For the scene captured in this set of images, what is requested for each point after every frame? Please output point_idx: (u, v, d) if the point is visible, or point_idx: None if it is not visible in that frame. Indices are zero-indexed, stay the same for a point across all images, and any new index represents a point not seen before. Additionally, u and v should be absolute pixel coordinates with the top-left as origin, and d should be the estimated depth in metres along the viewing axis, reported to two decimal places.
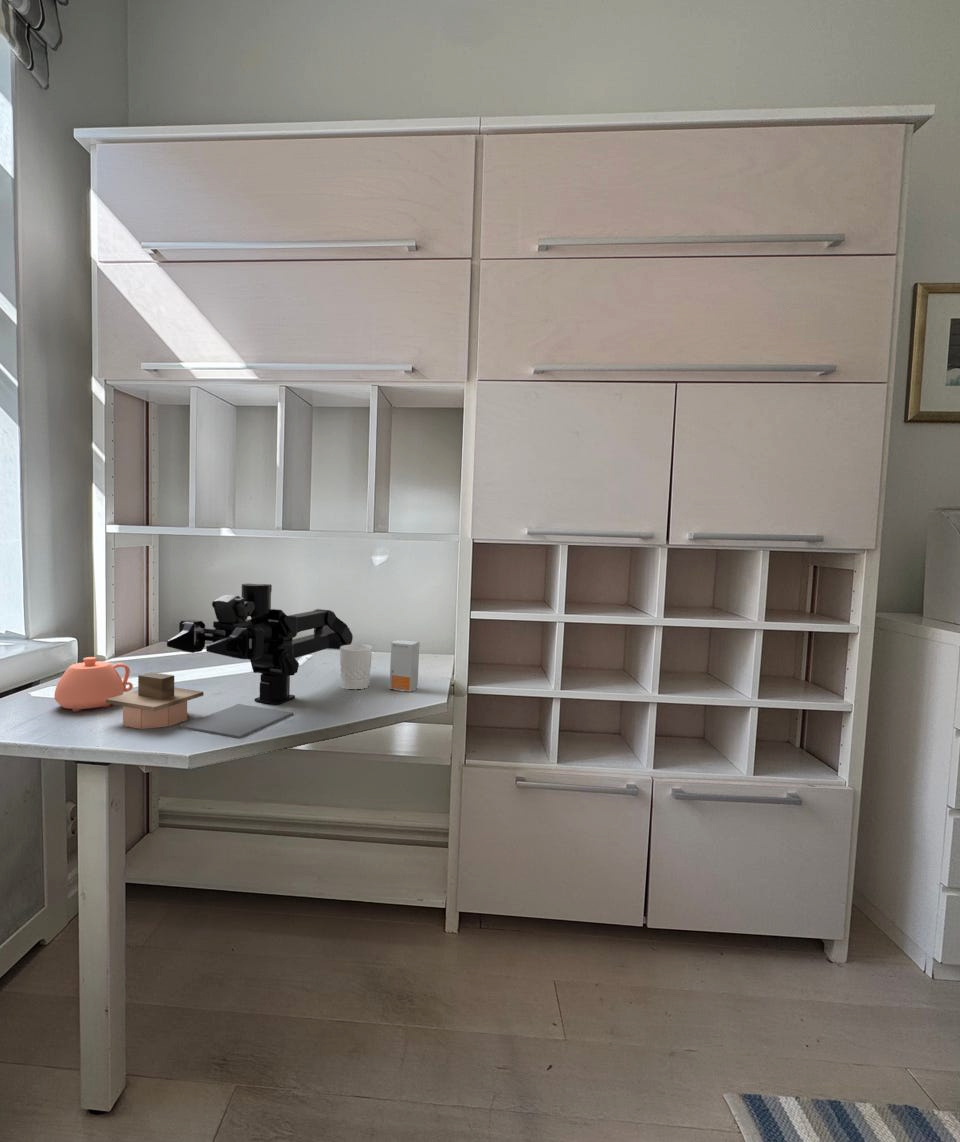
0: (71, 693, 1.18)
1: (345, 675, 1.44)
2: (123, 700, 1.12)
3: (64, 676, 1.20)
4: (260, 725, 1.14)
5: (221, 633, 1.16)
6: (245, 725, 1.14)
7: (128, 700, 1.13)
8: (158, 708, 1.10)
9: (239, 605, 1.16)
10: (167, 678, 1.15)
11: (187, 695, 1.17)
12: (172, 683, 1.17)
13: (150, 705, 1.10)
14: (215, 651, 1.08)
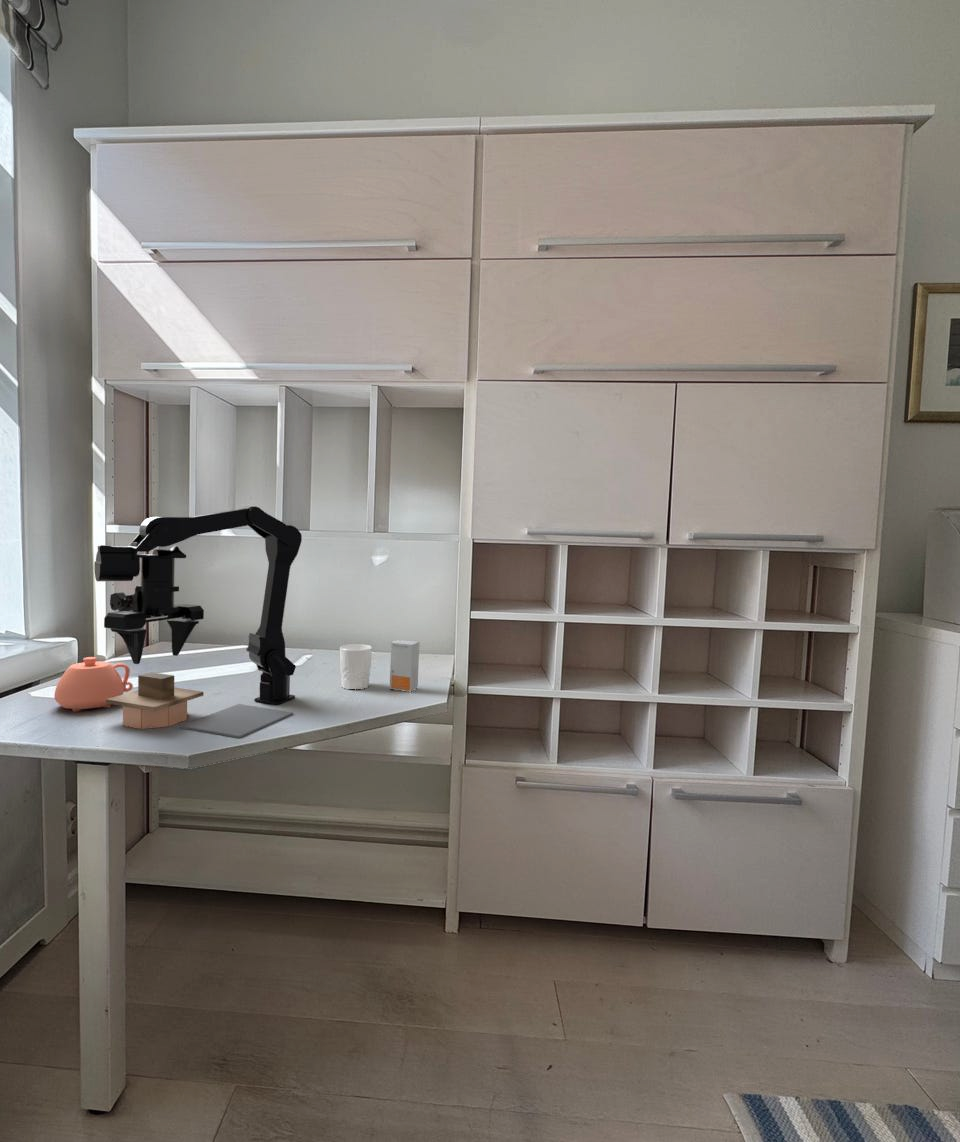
0: (71, 693, 1.18)
1: (345, 675, 1.44)
2: (123, 700, 1.12)
3: (64, 676, 1.20)
4: (260, 725, 1.14)
5: None
6: (245, 725, 1.14)
7: (128, 700, 1.13)
8: (158, 708, 1.10)
9: None
10: (167, 678, 1.15)
11: (187, 695, 1.17)
12: (172, 683, 1.17)
13: (150, 705, 1.10)
14: (136, 657, 1.11)
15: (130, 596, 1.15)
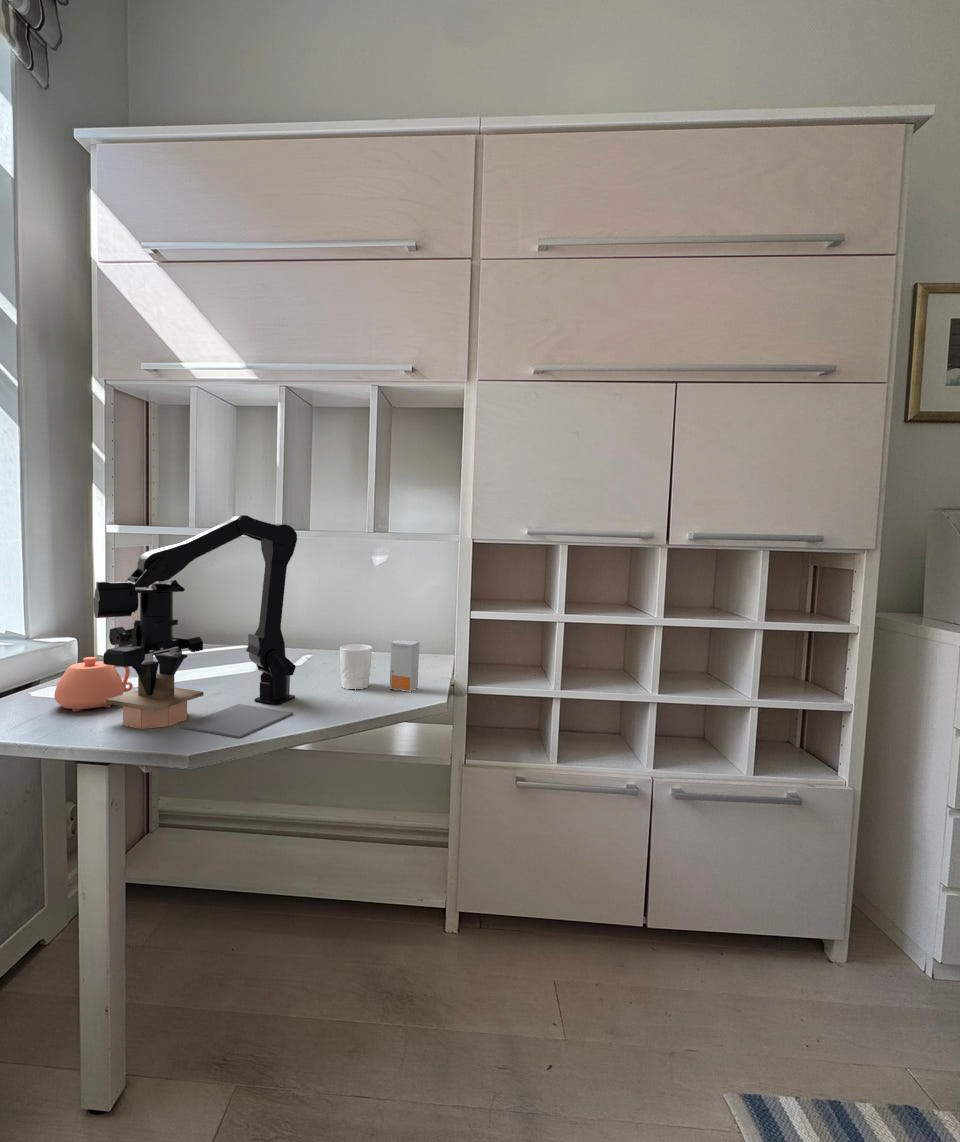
0: (71, 693, 1.18)
1: (345, 675, 1.44)
2: (123, 700, 1.12)
3: (64, 676, 1.20)
4: (260, 725, 1.14)
5: None
6: (245, 725, 1.14)
7: (128, 700, 1.13)
8: (158, 708, 1.10)
9: None
10: (167, 678, 1.15)
11: (187, 695, 1.17)
12: (172, 683, 1.17)
13: (150, 705, 1.10)
14: (149, 688, 1.14)
15: (129, 630, 1.15)
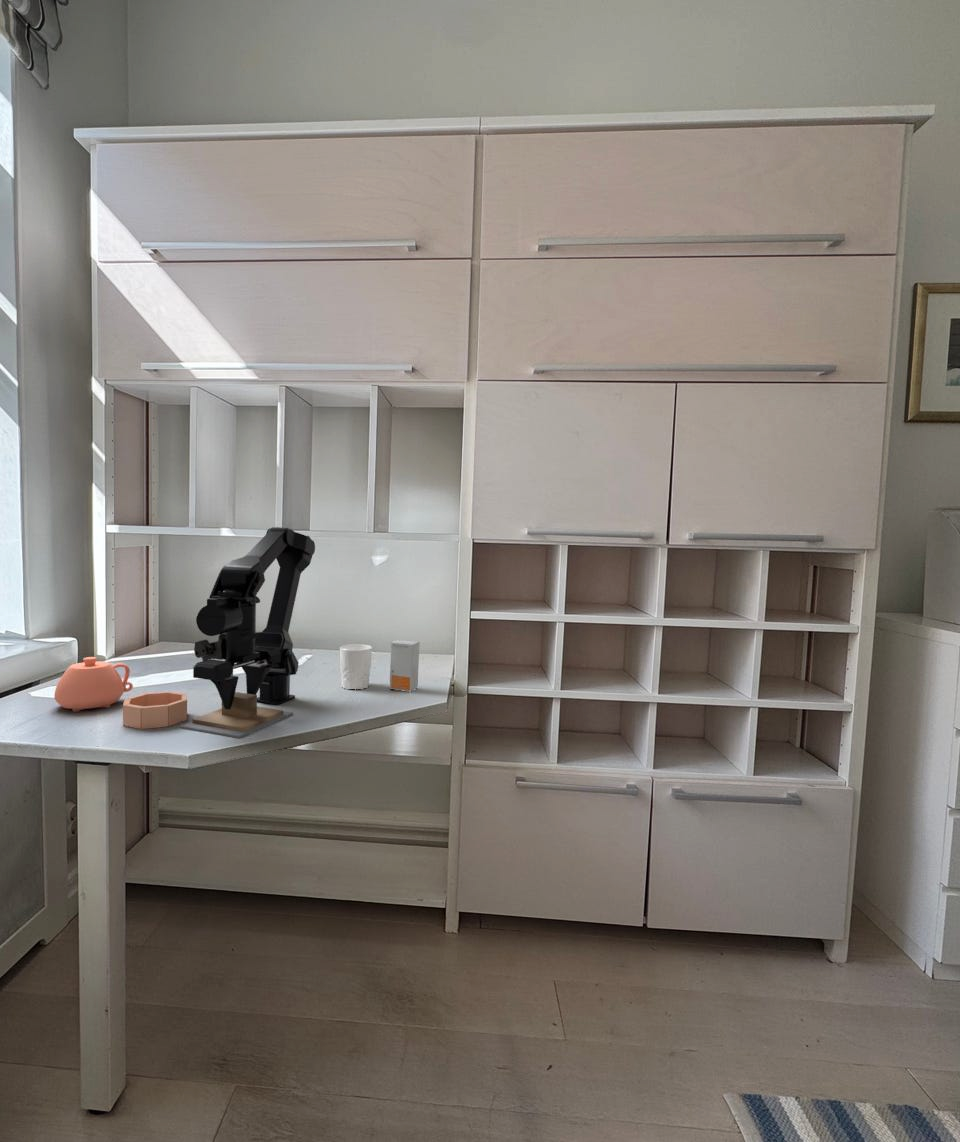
0: (71, 693, 1.18)
1: (345, 675, 1.44)
2: (209, 720, 1.14)
3: (64, 676, 1.20)
4: (260, 725, 1.14)
5: None
6: None
7: (214, 720, 1.14)
8: (246, 728, 1.11)
9: None
10: (251, 698, 1.17)
11: (269, 714, 1.19)
12: (255, 702, 1.18)
13: (238, 725, 1.11)
14: (228, 703, 1.14)
15: (213, 643, 1.16)
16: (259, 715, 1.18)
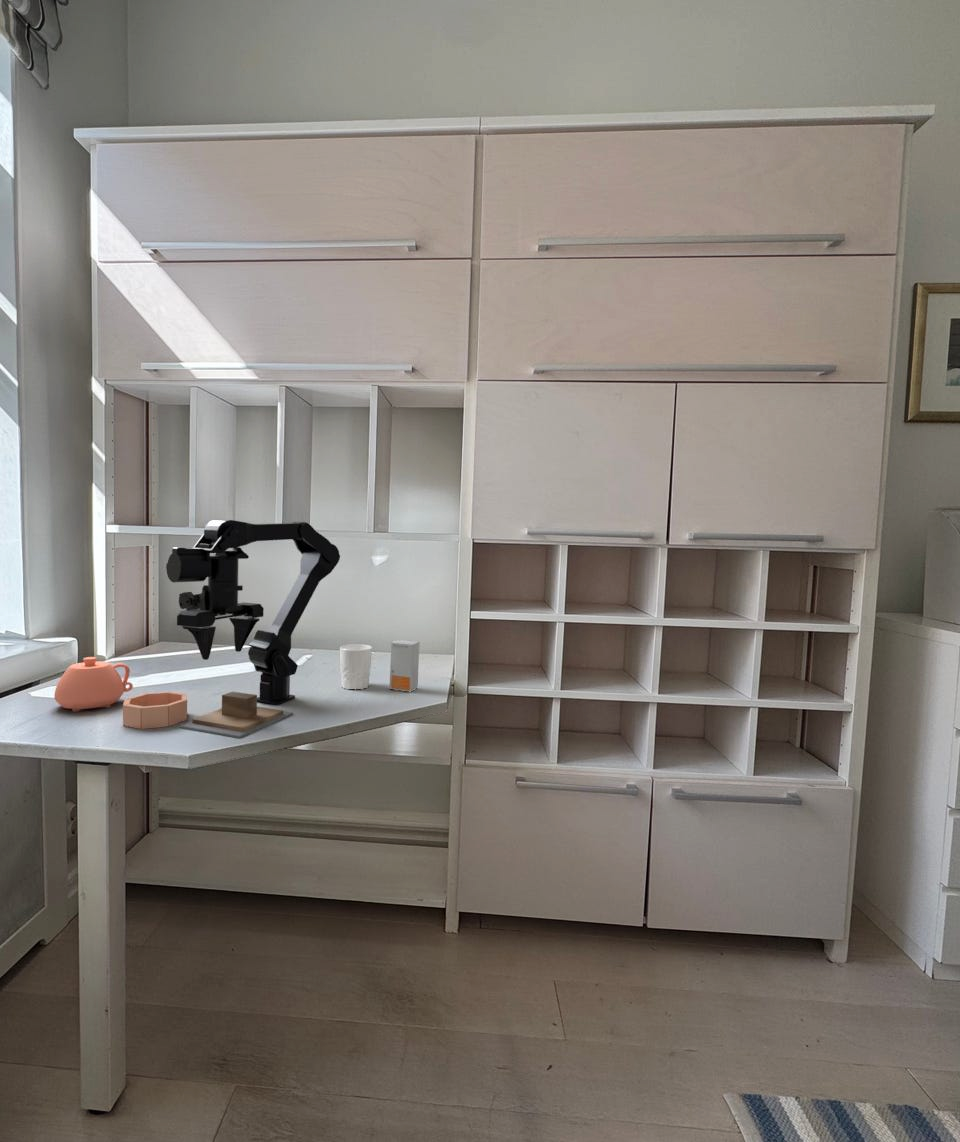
0: (71, 693, 1.18)
1: (345, 675, 1.44)
2: (209, 720, 1.14)
3: (64, 676, 1.20)
4: (260, 725, 1.14)
5: (218, 614, 1.22)
6: None
7: (214, 720, 1.14)
8: (246, 728, 1.11)
9: None
10: (251, 698, 1.17)
11: (269, 714, 1.19)
12: (255, 702, 1.18)
13: (238, 725, 1.11)
14: (206, 653, 1.17)
15: (197, 595, 1.21)
16: (259, 715, 1.18)
